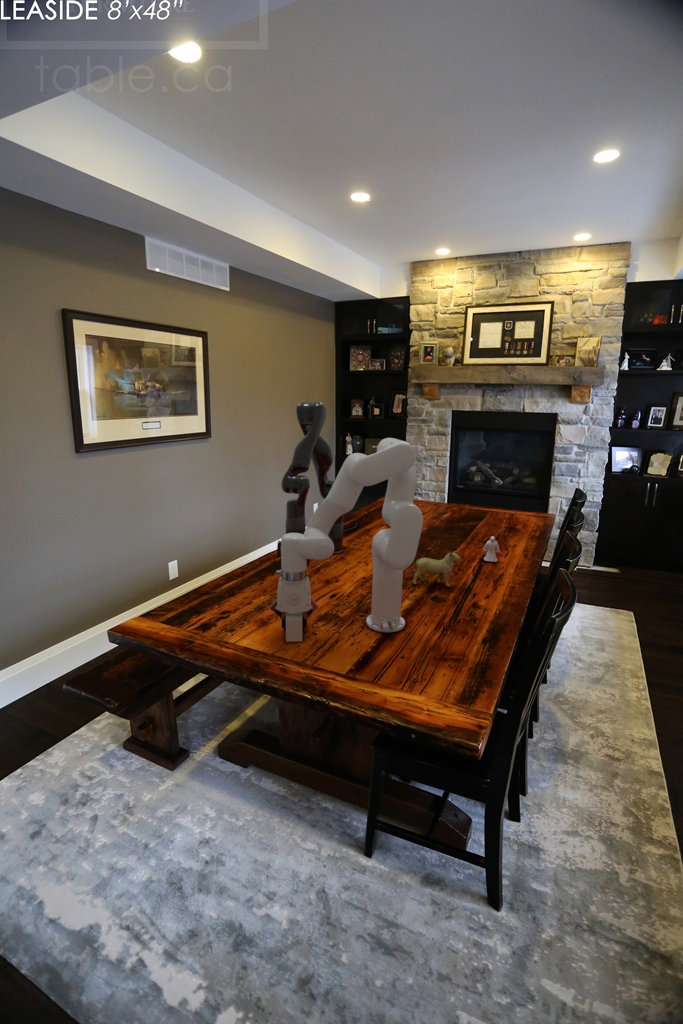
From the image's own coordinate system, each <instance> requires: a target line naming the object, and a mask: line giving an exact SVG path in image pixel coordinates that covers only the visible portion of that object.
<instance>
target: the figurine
mask: <svg viewBox="0 0 683 1024" xmlns="http://www.w3.org/2000/svg"><path fill="white" fill-rule="evenodd" d="M482 551H483V552H486V554H485V556H484V557H483V560H484V561H485V562H495V563H498V558H497V554H496V553H498V554H499V553H501V550H500V547H499V543H498V541H497V540H496V538H495V536H493V535H492V536H490V539H489V540H487V542H486V543H485V544H484V546H483V548H482Z"/></svg>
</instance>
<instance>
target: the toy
mask: <svg viewBox="0 0 683 1024" xmlns="http://www.w3.org/2000/svg"><path fill="white" fill-rule="evenodd" d="M459 552H460V550H455V551H453V552H448V553H447V554H446V555H445V556H444V558H442V559H433V558H430V557H421V558H419V559H416V562H415V567H416V568H417V571H416V572H415V573H414V576H413V579H412V584H413V586H417V585H418V583H417V580H418V578H419V577H420V576H421V577H422V578H423V579H424V582H428V581H429V578H428V577H427V575H425V574H426V573H427V574H429V575H432V576H437V575H438V576H437V577H438V578H437V579H436V583H437V584H442V582H441V579H442V578H443V579H444V583H445V586H446V587H447V588H448V589H450V588H452V586H451V585H450V583H449V575H451V573H452V572H453V569H454V567H455V561H457V562H461V560H462V558H461V556H459V555H458V553H459Z"/></svg>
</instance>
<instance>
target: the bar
mask: <svg viewBox="0 0 683 1024" xmlns="http://www.w3.org/2000/svg"><path fill="white" fill-rule="evenodd" d="M302 616H303V613H302V612H286V632H285V642H287V643H288V642H303V631H302Z"/></svg>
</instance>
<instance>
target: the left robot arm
mask: <svg viewBox="0 0 683 1024" xmlns="http://www.w3.org/2000/svg"><path fill="white" fill-rule="evenodd" d="M295 409H296V410H295V413H296V419H297V422H298V424H299V427H300V430H301V432H302V434H303V438H302V439H301V440H300V441H299V442H298V443H297V445H296V446H295V448H294V451H293V453H292V457H291V462H290V465H289V466H288V469H287V470H286V471H285V474H284V475H283V477H282V479H281V483H280V484H281V485H280V486H281V490H282V491H283V492H284V493H285V494H290V495H291V494H293V495H298V496H297V498H293V499H289V500H287V501H286V505H285V506H286V510H285V511H286V514H285V516H286V517H285V534H288V533H300V534H303V535H304V532H305V529H306V527H307V525H306V502H307V497H308V495H309V491H310V488H311V481H310V479H309V477H308V476H307V475H300V474H304V473H307V472H308V471H309V470H310V465H311V463H312V465H313V468H314V472H315V475H316V481H317V485H318V490H319V491H318V492H319V494H320V497H321V499H323V500H324V499H325V498H326V497H327V495H328V493H329V492H330V490H331V488H332V486H333V484H334V482H335V480H332V479H331V480H330V479H329V477H328V473H329V471H330V469H331V467H332V465H333V462H334V456H333V451H332V447H331V445H330V444H329V442H328V441H327V440H326V438H325V437H323V436H322V435H321V432H322V430H323V427H324V425H325V422H326V417H327V408H326V405H325V403H323V402H322V401H301V402H299V403H297V405H296V408H295ZM357 527H358V522H356V523H355V525H354V526H353V527H350V528H349V529H344V514H343V515H341V516H340V517H339V518H338V519H337V520H336V521H335V522H334V524H333V526H332V528H331V530H330V532H329V534H328V536H329V538H330V539H331V540H332V542H333V544H334V552H333V554H341V553H342V552H343V551H344V533H348V532H350V531H352V530H354V529H356V528H357ZM276 546H277V547H276V548H277V549H276V557H277V558H281V540H278V541H277V545H276ZM333 554H332V555H333ZM309 566H310V559H307V567H309Z"/></svg>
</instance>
